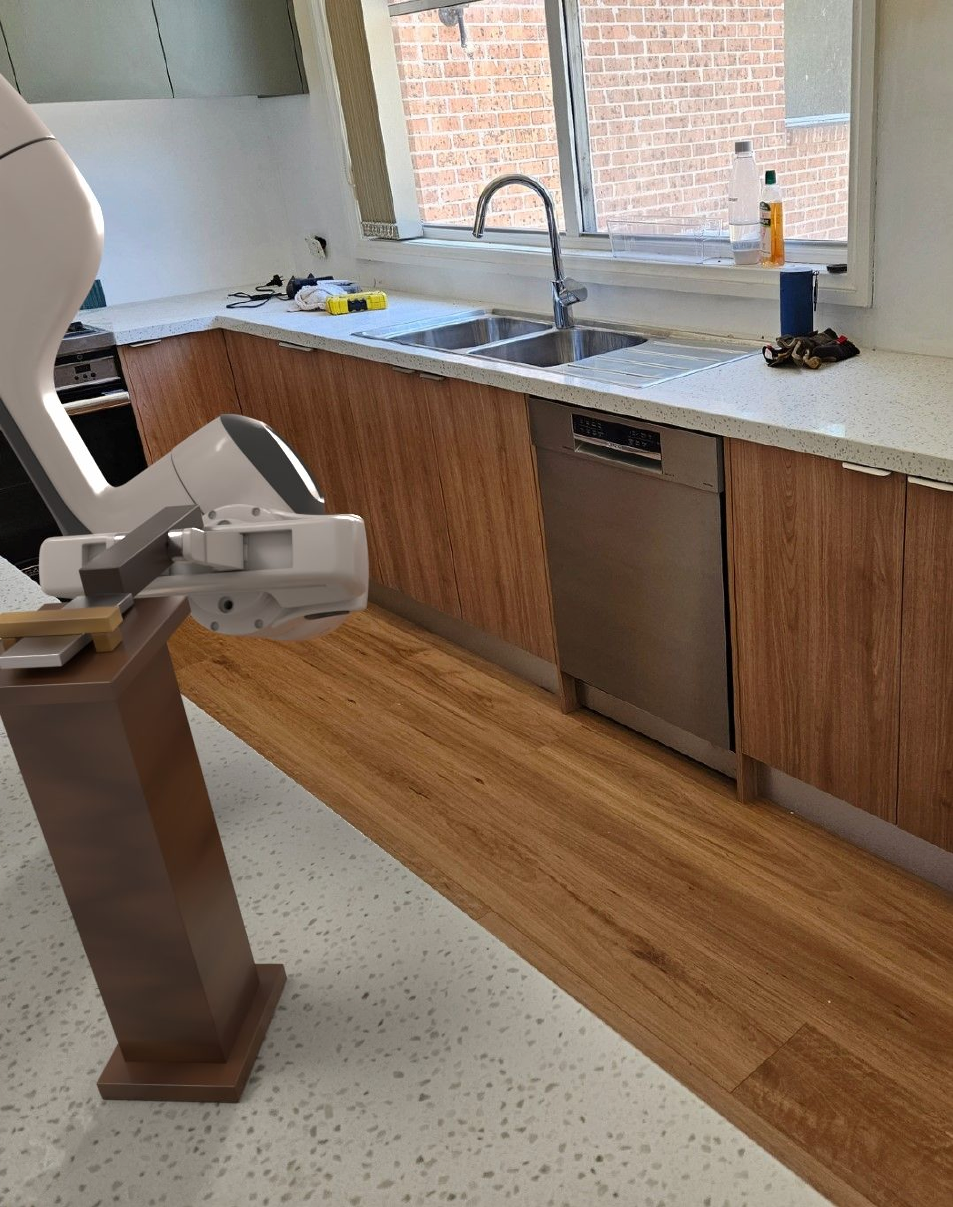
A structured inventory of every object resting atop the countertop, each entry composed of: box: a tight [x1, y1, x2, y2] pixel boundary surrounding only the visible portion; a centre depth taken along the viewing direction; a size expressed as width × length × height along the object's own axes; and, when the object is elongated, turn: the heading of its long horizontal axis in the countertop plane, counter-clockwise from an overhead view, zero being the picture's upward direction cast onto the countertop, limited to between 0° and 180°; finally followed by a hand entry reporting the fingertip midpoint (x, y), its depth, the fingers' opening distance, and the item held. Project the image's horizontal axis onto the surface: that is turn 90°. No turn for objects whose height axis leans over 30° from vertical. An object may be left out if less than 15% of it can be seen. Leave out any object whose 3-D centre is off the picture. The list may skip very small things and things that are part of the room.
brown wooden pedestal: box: [0, 595, 288, 1103], centre depth 56 cm, size 8×9×28 cm
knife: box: [0, 504, 204, 669], centre depth 56 cm, size 3×18×2 cm, turn 173°
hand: (148, 545), depth 59 cm, fingers closed on knife, 2 cm apart
